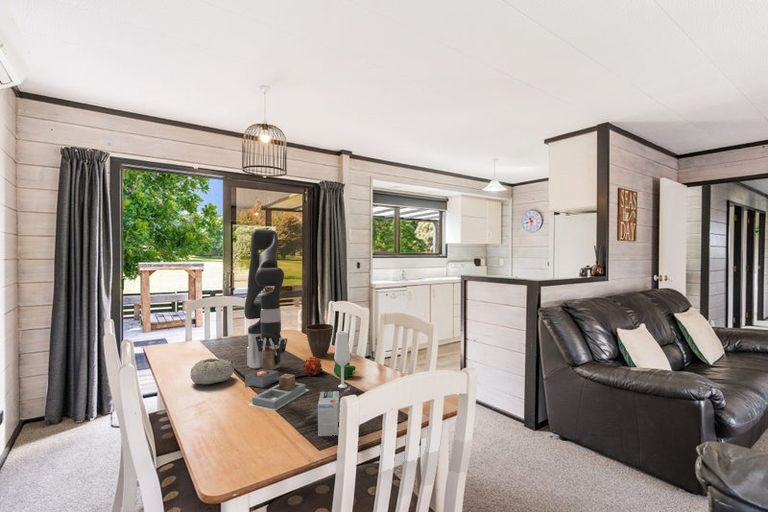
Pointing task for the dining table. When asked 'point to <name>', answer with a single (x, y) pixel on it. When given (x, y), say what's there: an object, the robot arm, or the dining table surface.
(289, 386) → the block
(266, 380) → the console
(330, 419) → the light bulb box
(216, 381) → the decorative shell
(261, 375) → the button
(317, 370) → the dragon fruit
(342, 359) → the champagne flute
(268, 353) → the walnut billet
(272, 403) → the gray compartment tray
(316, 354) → the plant pot
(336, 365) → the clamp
